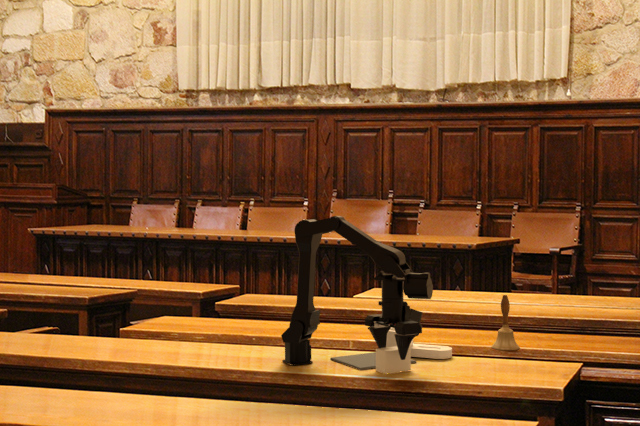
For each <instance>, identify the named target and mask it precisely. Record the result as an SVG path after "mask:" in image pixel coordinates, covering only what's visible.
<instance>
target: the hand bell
mask: <svg viewBox="0 0 640 426" xmlns="http://www.w3.org/2000/svg"><path fill="white" fill-rule="evenodd" d="M510 304H511V303H510V301H509V298H508V294H503V295H502V298H501V301H500V311H501V315H502V327H501V328H500V329H498V330H497V337H496V339H495V342H494V343H493V344H492V345H491V348H492V349H494V350H498V351H516V350H520V349H521V348H520V345H519V344H517V341H516V340H515V336H514V335H515V334H514V330H513V329H511V328H510V326H509V313H510V309H511V308H510Z"/></svg>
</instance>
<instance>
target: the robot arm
mask: <svg viewBox="0 0 640 426" xmlns="http://www.w3.org/2000/svg"><path fill="white" fill-rule="evenodd" d="M331 232H335V233H336V234H337V235H339V236H341V238H343V239H345V240H347V241H348V242H349V243H351V244H353V245H354V246H356V247H357V248H358V249H360V250H361V251H363V252H364V253H366V254H367V255H368V256H369V257H370V259H372V261H373V263H375V265H376V266H378V268H380V269H381V271H379V272H378V273H377V275H375V276H374V277H373V280H374V281H381V300H379V301H377V303H378V306H381V313H378V314H377V313H376V314H368V315H367V316H365V318H364V326H366V327H367V330H369V332H370V334H371V336H372V338H373V339H374V341H375V343H376V345H377V348H385V347H386V341H387V333H388V331H389V330H390V328H391V327H392V328H395V331H396V333H397V334H394V335H395V339H396V343H397V347H398V351H399V355H400V358H401V360H405V358H406V355H407V352H408V349H409V346H410V343H411V341H412V339H413V340H414V338H415V337H418V336H419V335H420V334H422V333H423V325H422V324H421V322H422V321H421V320H422V317H423V312H422V311H420V310H416V309H414V308H411V305H408V302H407V301H405V300H404V295H405V296H407V298H408V299H412V300H415V299H416V300H431V299H432V298H433V292H434V285H433V282H432V278H431V273H430V272H422V273H419V272H414V271H413V270H412V268H411V267H410V265H409V264H408V263H407V261H406V260H407V259H406V255H405V254H404V252H402V250H399V249H397V248H395V247H393V246H390V245H388V244H385V243H382V242H379V240H378V241H377V240H376V239H375V238H373V237H372V236H370V235H369V234H367V233H366V232H364V231H363V230H361V229H360V228H358V227H357V226H355V225H354V224H352V223H351V222H349V221H348V220H347V219H345V217H344V216H342V215H333V216H330V217H327V218H324V219H318V220H317V219H314V218H313V219H301V220H300V221H298V222H297V223H296V224H295V226H294V238H295V241H294V242H295V244H296V246H297V249H298V253H299V254H298V269H297V270H298V271H297V272H298V273H297V286H296V289H297V290H296V291H297V292H296V302H295V303H296V304H295V306H294V309H293V311H292V312H291V315H290V320H289V327H288V328H286V329H285V331H284V332H283V333H282V334H281V336H280V337H281V340H282V342H283V344H284V359H282V363H285V364H287V365H290V366H299V365H298V364H301V365H308V364H313V363H314V362H313V361H314V360H312V345H311V344H310V343H311V341H310V340H309V339H312V337H313V334H314V332H316V331H317V329H318V326H319V325H321V322H320V316H321V309H316V307H315V304H314V300H315V299H314V296H315V294H314V293H315V281H316V280H315V279H316V278H315V277H316V261H317V260H316V258H317V251H318V249H319V246H320V244H321V241H322V238H323V237H322V236H323V235H324V234H328V233H331ZM395 324H396V325H395Z"/></svg>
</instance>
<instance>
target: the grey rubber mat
mask: <svg viewBox="0 0 640 426" xmlns="http://www.w3.org/2000/svg"><path fill="white" fill-rule="evenodd" d="M330 360H331V361H334V362H336V363H338V364H342V363H343V364H342V365H344V364H346V365H345V366H347V365H349V366H348V367H350V366H352V367H351V368H353V367H354V369H356V368H357V370H359V369H360V370H359V371H364V369H365V370H371V368H373V369H376V351H375V352H365V353H356V354H349V355H341V356H334V357H332V356H331V357H330ZM416 363H417V360H415V359H412V358H411V364H416Z"/></svg>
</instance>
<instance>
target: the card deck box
mask: <svg viewBox="0 0 640 426" xmlns="http://www.w3.org/2000/svg"><path fill="white" fill-rule="evenodd" d="M375 352H376V368H375V371H376V372H378V373H381V374H384V373H385V374H384V375H388V374H387V373H390V374H395V373H394V372H397V373H401V372H400V371H405V372H409V371H408V370H412V368H411V367H412V365H411V364H412V363H411V359H412V357H411V348H409V349H408V352H407V355H406V358H405V360H401V358H400V355H399V351H398V347H397V346H394V347H385V348H378V347H377V348H375Z"/></svg>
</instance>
